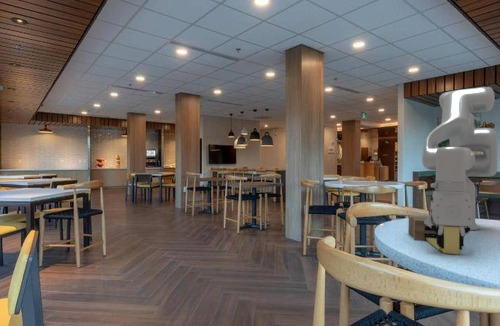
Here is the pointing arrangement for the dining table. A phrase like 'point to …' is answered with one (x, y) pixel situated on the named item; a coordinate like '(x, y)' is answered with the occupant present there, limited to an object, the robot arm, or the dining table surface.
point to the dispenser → (420, 228)
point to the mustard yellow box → (448, 240)
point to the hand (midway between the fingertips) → (449, 247)
